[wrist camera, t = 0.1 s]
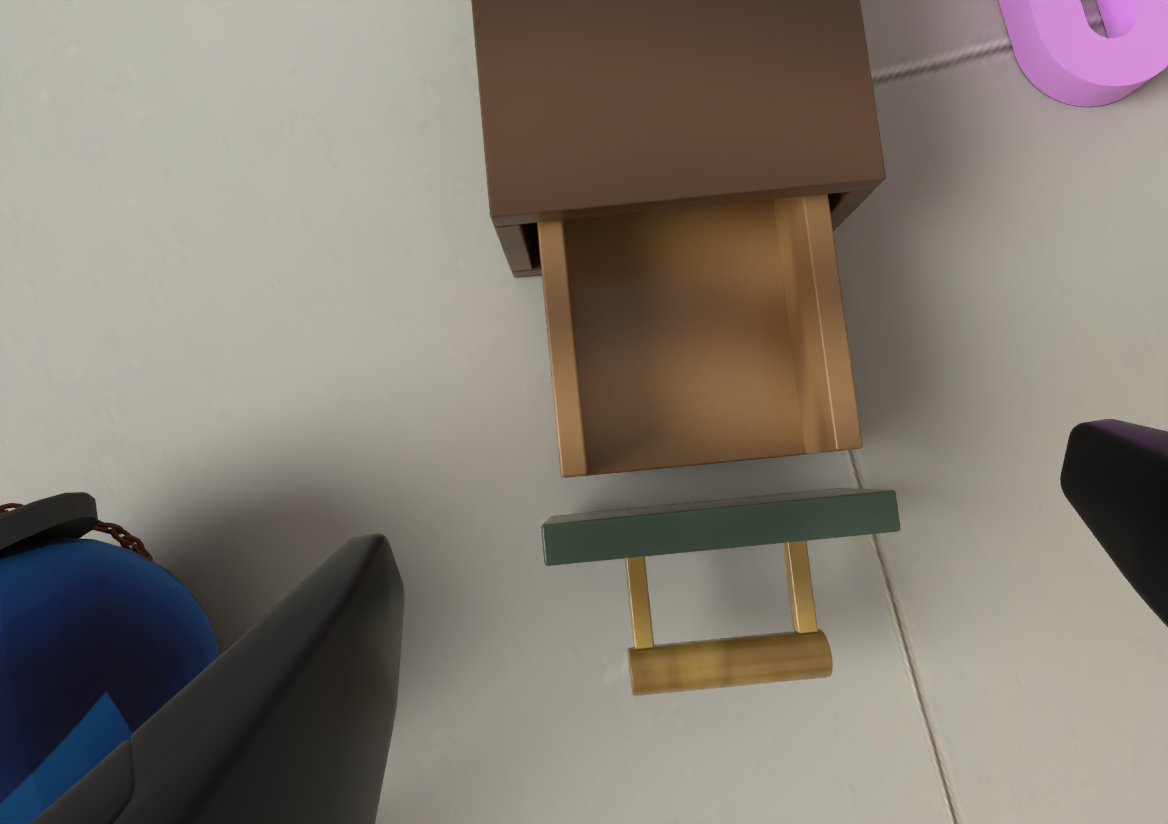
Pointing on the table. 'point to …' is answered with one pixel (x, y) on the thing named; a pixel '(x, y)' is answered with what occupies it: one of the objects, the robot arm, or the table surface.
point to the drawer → (704, 405)
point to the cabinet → (669, 108)
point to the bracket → (1088, 47)
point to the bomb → (82, 647)
